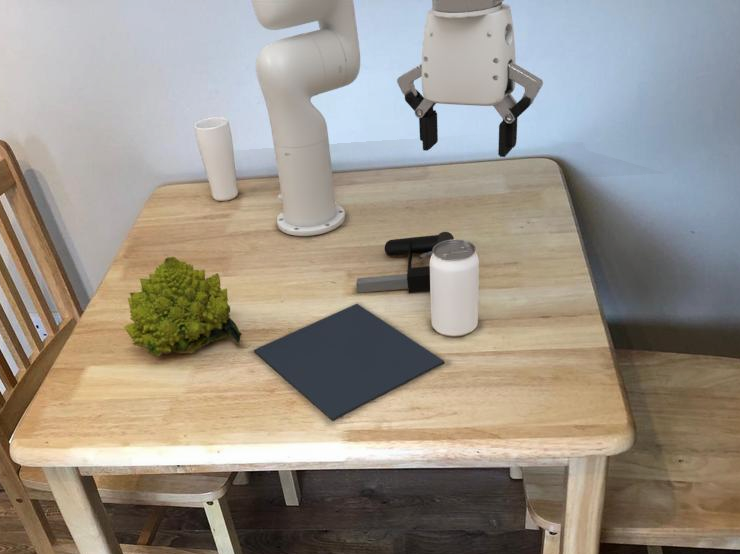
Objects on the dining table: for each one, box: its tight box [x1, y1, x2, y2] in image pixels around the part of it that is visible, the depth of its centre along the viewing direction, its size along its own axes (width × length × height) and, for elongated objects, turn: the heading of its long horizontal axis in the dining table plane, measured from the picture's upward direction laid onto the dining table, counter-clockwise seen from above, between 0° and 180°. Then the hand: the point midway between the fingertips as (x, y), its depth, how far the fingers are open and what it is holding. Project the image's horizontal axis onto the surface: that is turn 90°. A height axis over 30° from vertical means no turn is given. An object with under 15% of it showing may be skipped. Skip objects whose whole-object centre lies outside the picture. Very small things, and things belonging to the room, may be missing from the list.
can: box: [429, 238, 480, 338], centre depth 104 cm, size 6×6×12 cm
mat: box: [253, 303, 445, 422], centre depth 104 cm, size 20×18×1 cm
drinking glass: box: [193, 116, 239, 202], centre depth 149 cm, size 7×7×15 cm
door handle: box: [355, 231, 455, 294], centre depth 119 cm, size 3×20×16 cm
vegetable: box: [123, 256, 242, 357], centre depth 110 cm, size 15×16×15 cm
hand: (467, 149), depth 93 cm, fingers open, 9 cm apart
